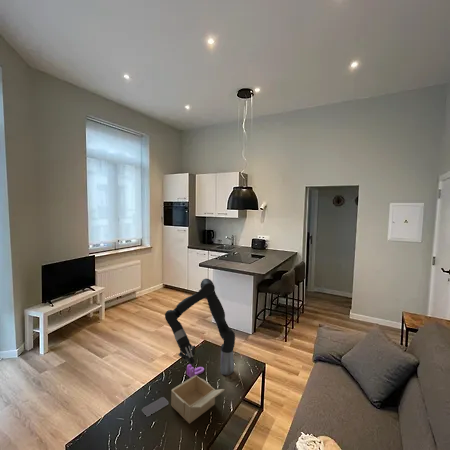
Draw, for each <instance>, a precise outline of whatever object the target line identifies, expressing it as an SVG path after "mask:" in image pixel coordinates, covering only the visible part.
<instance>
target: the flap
mask: <svg viewBox="0 0 450 450" xmlns="http://www.w3.org/2000/svg"><path fill="white" fill-rule="evenodd" d="M224 391H225V388H219V389H215V390H214V391H213V392H211V393H210V394H209V395H207V396H206V397H204V398H203V399H202V400H200V401H199V402H197V403H196V404H195V405H193V406H192V407H191V408H201V407H203V406H204V405H206V404H207V403H208V402H210V401H211V400H212V399H214V398H215V399H216V397H217V396H219V395H220V394H222V393H224Z"/></svg>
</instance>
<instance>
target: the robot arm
mask: <svg viewBox="0 0 450 450" xmlns="http://www.w3.org/2000/svg"><path fill="white" fill-rule="evenodd" d="M215 289H216V287H215V284H214V283H213V280H211V279H209V278H204V279H202V280H201V282H200V289H199V290H198V291H197V292H196V293H194V294H192V295H190V296H187V297H185V298H184V299H182V300H181V301H180V302H179V303H178V304H177V305H176V307H175V308H174V309H173V310H172V309H167V311H165V312H164V318H165V321H166V323H167V324H168V325H169V327H170V329H171V331H172V333H173V337H174V340H175V342H176V343H177V347H178V348H179V353H178V356H179V357H180V358H182V359H183V360H188V362H189V364H191V365H194V364H195V359H194V355H195V351H196V345H192V343H190V339H189V337H188V335H187V333H186V331H185V329H184V327H183V325H182V323H181V322H180V321H179V320H178V319H179V318H180V317H181V316H182V315H183V314H184V313H185V312H186V311H187V310H189V309H190V308H191V307H193V306H194V305H196V304H197V303H199V302H200V301H202V300H203V299H205V298H206V300H207V301H206V302H207V305H208V308H209V311H210V313H211V316H212V318H213V319H214V320H213V321H214V322H215V324H216V326H217V329H218V334H219V336H220V338H221V339H222V340H223V343H222V344H221V346H220V369H219V370H220V373H221V374H222V375H224V376H230V375H232V373H233V372H234V370H235V359H234V347H235V345H236V344H235V342H236V333H235V331H233V329H232V328H230V326H229V325H228V323H227V320H226V312H225V310H224V307H223V305H222V303H221V301H220V299H219V297H218V295H217V294H216V290H215Z"/></svg>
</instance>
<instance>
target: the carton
mask: <svg viewBox="0 0 450 450" xmlns="http://www.w3.org/2000/svg"><path fill="white" fill-rule="evenodd" d="M214 390H216V389H215V387H213V386H211V384H210V383H209V382H208V381H206V380H205V379H204V378H201V377H199V375H195V376H193V377H191V378H190V377H189V378H188V379H187V380H185V381H183V382H181V383H180V384H179V385H177V386H175V387H173V388H172V389H171V391H170V392H171V394H170V395H171V397H170V398H171V399H170V401H171V402H170V404H171V405H170V406H171V407H172V408H173V409H174V410H175V411H176V412H177V413H178V414H179V415H180V416H181V417H182V418H183V419H184V420H185V421H186V422H187V423H188V424H189V425H190V424H191V423H192V422H195V420H197V419H198V418H199V417H200V416H201V415H203V414H204V413H206V412H207V411H208V410H210V409H211V408H213V407H214V406H215V404H216V397H215V398H214V399H212V400H211V401H210V402H208V403H207V404H206V405H204V406H203V407H201V408H191V407H192V406H193V405H195V404H196V403H197V402H199V401H200V400H202V399H203V398H204V397H206V396H207V395H209V394H210V393H211V392H213V391H214Z"/></svg>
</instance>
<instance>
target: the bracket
mask: <svg viewBox="0 0 450 450" xmlns="http://www.w3.org/2000/svg"><path fill="white" fill-rule="evenodd" d="M192 365H193V364H192ZM192 365H191V364H190V363H189V364H187V366H186V375H187V376H188V378H189V379H190V378H191V377H193V376H195V375H197V376H199V375H200V374H203V373H204V372H205V368H204V367H203V366H198V367H196V368H194V366H192Z"/></svg>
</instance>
